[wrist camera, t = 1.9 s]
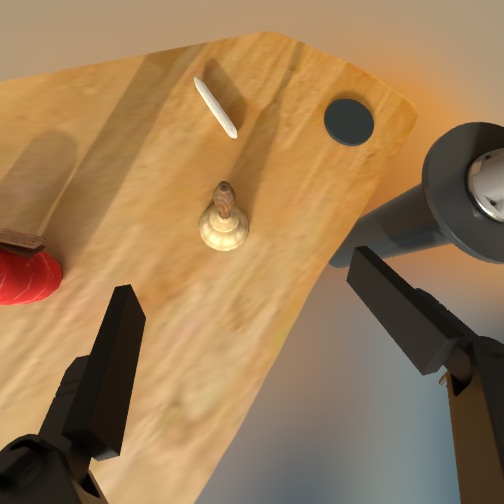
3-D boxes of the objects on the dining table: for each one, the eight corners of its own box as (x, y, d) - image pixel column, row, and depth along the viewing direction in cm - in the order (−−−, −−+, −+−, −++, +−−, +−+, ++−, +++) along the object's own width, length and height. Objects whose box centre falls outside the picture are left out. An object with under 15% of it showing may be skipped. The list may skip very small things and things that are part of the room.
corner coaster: (371, 105, 48) (373, 103, 48) (372, 149, 47) (374, 147, 46) (324, 97, 47) (326, 94, 47) (323, 141, 46) (324, 140, 45)
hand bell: (255, 242, 40) (275, 209, 25) (208, 257, 39) (197, 232, 23) (239, 198, 42) (248, 139, 26) (193, 211, 40) (173, 158, 25)
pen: (198, 80, 45) (197, 72, 43) (239, 138, 44) (240, 132, 42) (190, 83, 44) (189, 75, 43) (232, 142, 43) (232, 136, 42)
